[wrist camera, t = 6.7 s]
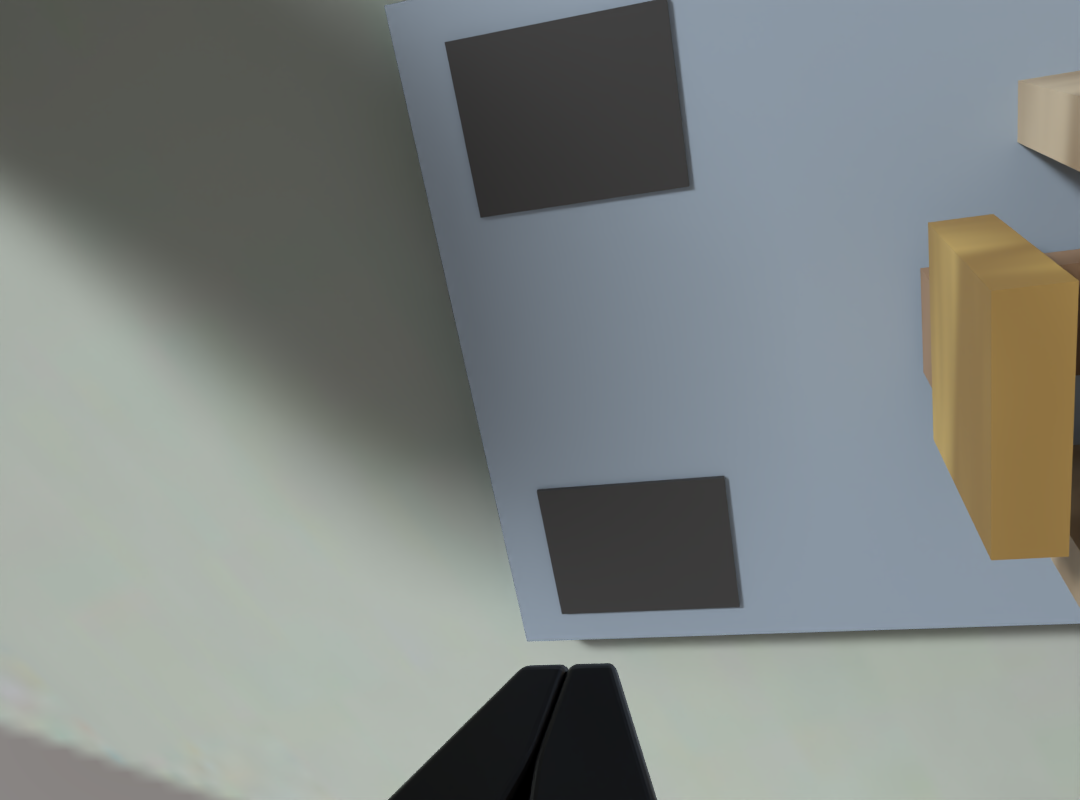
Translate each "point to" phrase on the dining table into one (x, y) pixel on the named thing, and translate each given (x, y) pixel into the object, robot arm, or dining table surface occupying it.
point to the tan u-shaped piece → (1004, 379)
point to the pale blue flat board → (727, 296)
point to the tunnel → (1076, 140)
